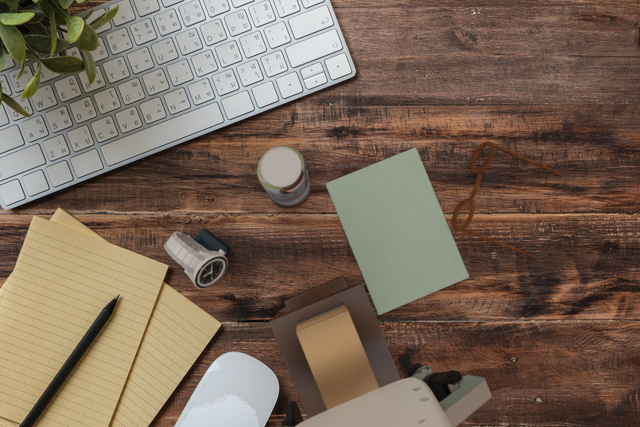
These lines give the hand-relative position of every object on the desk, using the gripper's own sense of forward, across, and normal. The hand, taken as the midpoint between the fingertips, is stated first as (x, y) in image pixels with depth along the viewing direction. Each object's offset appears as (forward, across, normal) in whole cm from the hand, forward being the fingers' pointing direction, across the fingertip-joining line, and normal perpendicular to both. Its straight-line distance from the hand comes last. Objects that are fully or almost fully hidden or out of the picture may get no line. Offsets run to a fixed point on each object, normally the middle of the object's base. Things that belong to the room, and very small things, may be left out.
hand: (353, 395), depth 39 cm
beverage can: (+29, +2, +21) cm, 35 cm away
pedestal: (+28, 0, 0) cm, 28 cm away
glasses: (+29, +30, +7) cm, 42 cm away
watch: (+28, -12, +16) cm, 35 cm away
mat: (+28, +14, +9) cm, 33 cm away
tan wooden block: (+8, 0, 0) cm, 8 cm away
